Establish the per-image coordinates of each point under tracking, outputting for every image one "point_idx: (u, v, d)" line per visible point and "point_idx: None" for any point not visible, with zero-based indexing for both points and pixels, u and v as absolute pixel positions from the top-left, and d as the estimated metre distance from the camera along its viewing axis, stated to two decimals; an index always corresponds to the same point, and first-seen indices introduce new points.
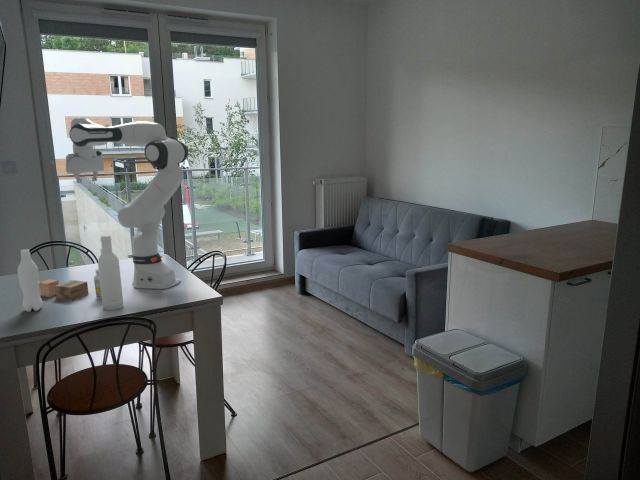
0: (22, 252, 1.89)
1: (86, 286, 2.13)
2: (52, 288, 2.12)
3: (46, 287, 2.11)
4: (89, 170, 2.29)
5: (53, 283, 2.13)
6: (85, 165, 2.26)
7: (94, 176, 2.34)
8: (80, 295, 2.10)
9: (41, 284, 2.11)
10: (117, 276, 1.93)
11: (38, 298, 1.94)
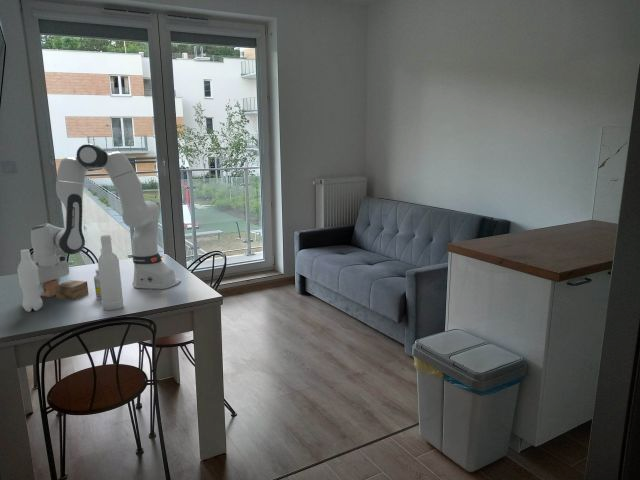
0: (22, 252, 1.89)
1: (86, 286, 2.13)
2: (52, 288, 2.12)
3: (46, 287, 2.11)
4: (52, 278, 2.13)
5: (53, 283, 2.13)
6: (47, 274, 2.10)
7: None
8: (80, 294, 2.10)
9: None
10: (117, 276, 1.93)
11: (38, 298, 1.94)
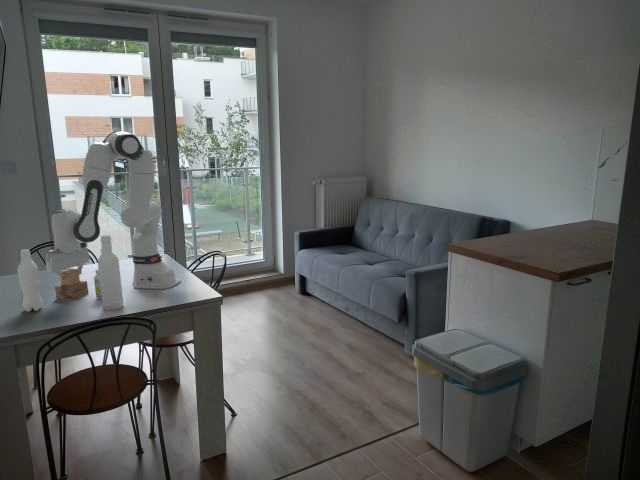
0: (22, 252, 1.89)
1: (86, 286, 2.14)
2: (73, 277, 2.08)
3: (67, 276, 2.06)
4: (72, 265, 2.08)
5: (74, 272, 2.08)
6: (68, 260, 2.06)
7: None
8: (81, 294, 2.10)
9: (61, 273, 2.07)
10: (117, 276, 1.93)
11: (38, 298, 1.94)
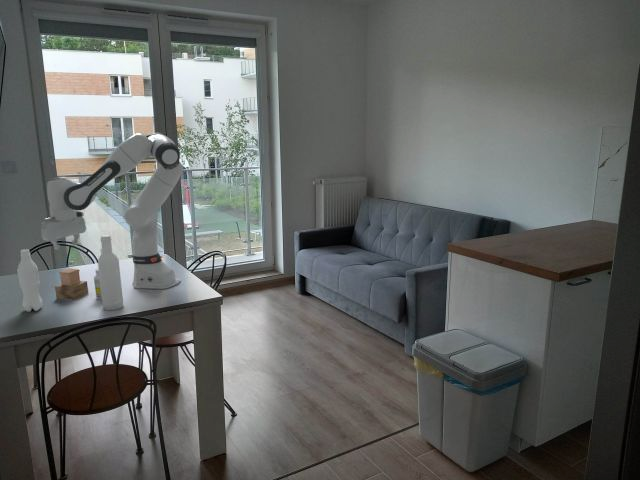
0: (22, 252, 1.89)
1: (86, 286, 2.14)
2: (73, 277, 2.08)
3: (67, 276, 2.06)
4: (68, 234, 2.05)
5: (74, 272, 2.08)
6: (64, 229, 2.03)
7: (75, 239, 2.11)
8: (81, 294, 2.10)
9: (62, 273, 2.07)
10: (117, 276, 1.93)
11: (38, 298, 1.94)
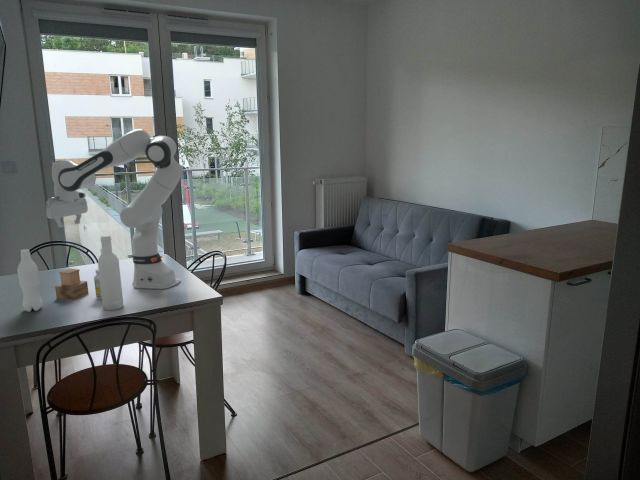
0: (22, 252, 1.89)
1: (86, 286, 2.14)
2: (73, 277, 2.08)
3: (67, 276, 2.06)
4: (71, 213, 2.20)
5: (74, 272, 2.08)
6: (67, 208, 2.17)
7: (77, 218, 2.25)
8: (81, 294, 2.11)
9: (62, 273, 2.07)
10: (117, 276, 1.93)
11: (38, 298, 1.94)
